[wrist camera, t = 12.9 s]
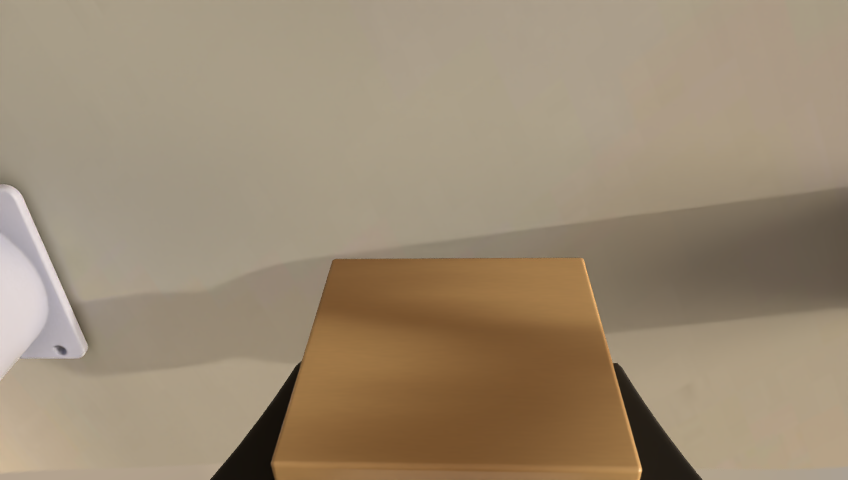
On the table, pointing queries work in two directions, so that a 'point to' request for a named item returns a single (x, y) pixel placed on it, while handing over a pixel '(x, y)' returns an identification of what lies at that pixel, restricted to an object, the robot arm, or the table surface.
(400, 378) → the block
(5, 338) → the robot arm
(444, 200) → the table surface
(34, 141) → the table surface
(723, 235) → the table surface
